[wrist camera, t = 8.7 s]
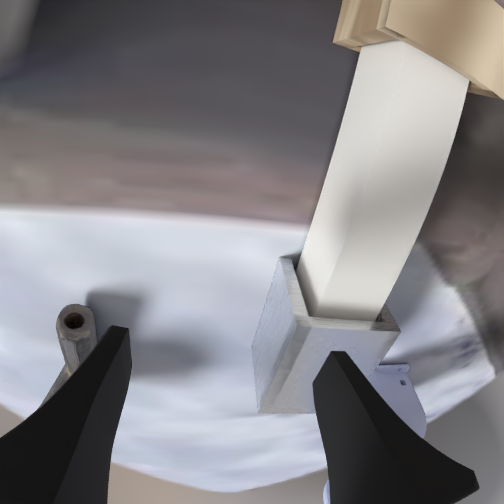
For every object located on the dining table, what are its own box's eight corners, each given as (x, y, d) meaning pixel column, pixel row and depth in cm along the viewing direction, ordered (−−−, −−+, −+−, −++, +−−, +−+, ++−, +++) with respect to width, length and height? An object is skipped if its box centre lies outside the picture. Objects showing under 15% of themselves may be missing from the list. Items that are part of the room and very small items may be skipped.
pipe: (117, 306, 22) (88, 390, 15) (118, 392, 28) (105, 456, 21) (50, 288, 21) (7, 360, 14) (67, 377, 27) (47, 437, 20)
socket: (446, 23, 12) (515, 20, 7) (433, 86, 15) (504, 100, 9) (348, -26, 11) (401, -62, 6) (332, 42, 14) (385, 26, 8)
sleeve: (364, 270, 22) (400, 331, 16) (324, 351, 26) (342, 412, 20) (279, 257, 21) (297, 325, 15) (251, 346, 25) (257, 412, 19)
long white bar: (422, 50, 13) (475, 49, 9) (345, 282, 22) (369, 330, 18) (367, 23, 13) (411, 9, 9) (294, 275, 21) (309, 326, 17)
